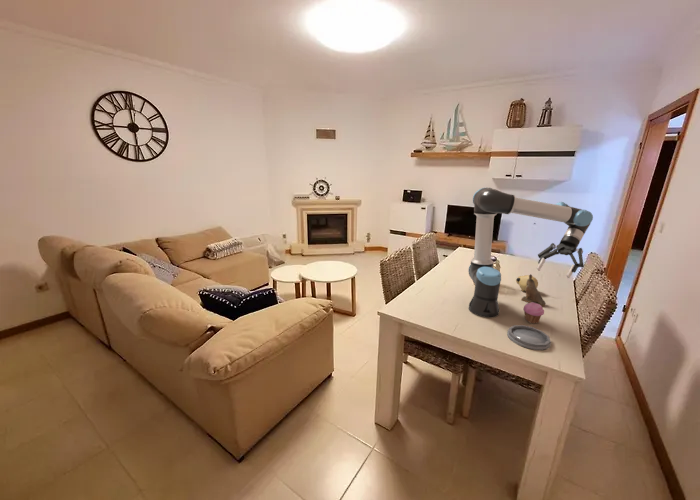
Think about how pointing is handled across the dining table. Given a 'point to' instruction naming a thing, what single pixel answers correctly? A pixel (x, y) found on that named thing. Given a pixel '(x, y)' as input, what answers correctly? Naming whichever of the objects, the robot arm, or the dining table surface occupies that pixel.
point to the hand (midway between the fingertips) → (552, 273)
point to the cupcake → (533, 312)
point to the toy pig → (523, 279)
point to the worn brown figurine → (532, 293)
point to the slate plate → (529, 337)
